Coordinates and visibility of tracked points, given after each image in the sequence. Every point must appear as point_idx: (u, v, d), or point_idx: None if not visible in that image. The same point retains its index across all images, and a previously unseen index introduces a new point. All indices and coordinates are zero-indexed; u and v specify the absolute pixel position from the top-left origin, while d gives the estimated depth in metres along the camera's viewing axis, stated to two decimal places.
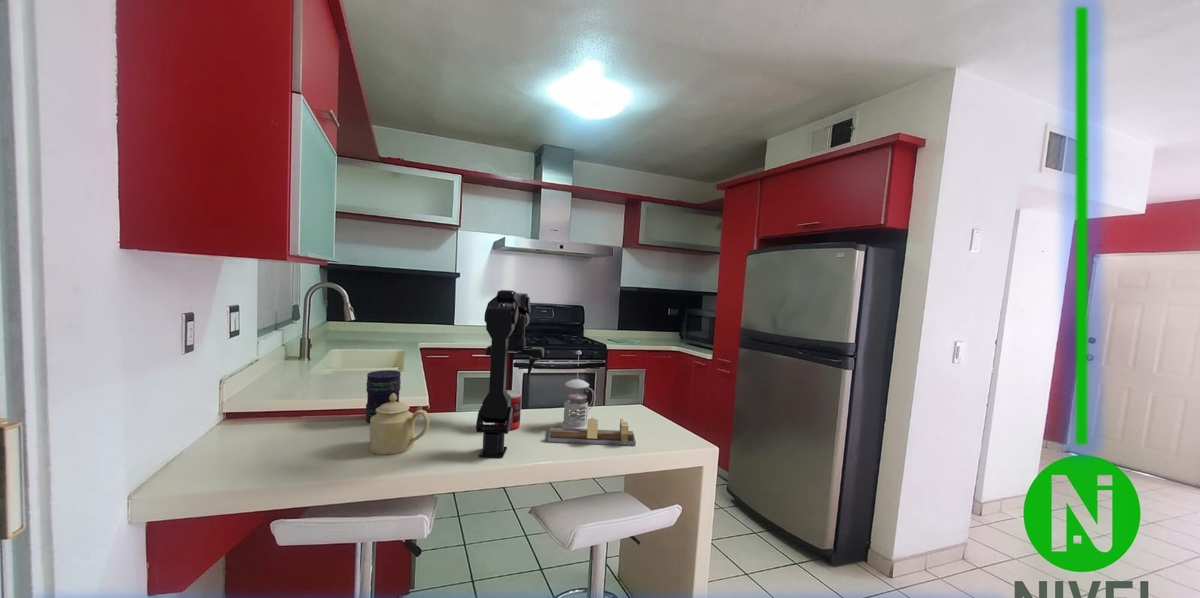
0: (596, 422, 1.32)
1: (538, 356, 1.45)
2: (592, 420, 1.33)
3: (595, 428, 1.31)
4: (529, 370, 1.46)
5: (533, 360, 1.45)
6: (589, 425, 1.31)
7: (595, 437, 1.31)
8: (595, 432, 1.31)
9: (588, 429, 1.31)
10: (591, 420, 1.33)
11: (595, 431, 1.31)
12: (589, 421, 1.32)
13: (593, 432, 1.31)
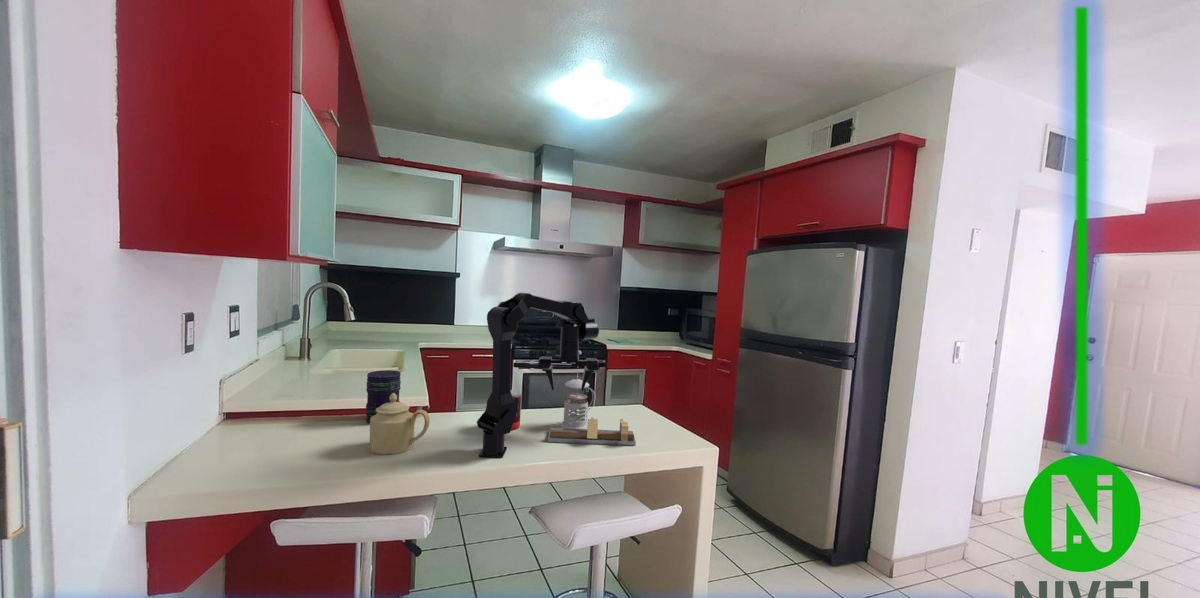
0: (596, 422, 1.32)
1: (594, 368, 1.36)
2: (592, 420, 1.33)
3: (595, 428, 1.31)
4: (584, 383, 1.38)
5: (589, 372, 1.37)
6: (589, 425, 1.31)
7: (595, 437, 1.31)
8: (595, 432, 1.31)
9: (588, 429, 1.31)
10: (591, 420, 1.33)
11: (595, 431, 1.31)
12: (589, 421, 1.32)
13: (593, 432, 1.31)
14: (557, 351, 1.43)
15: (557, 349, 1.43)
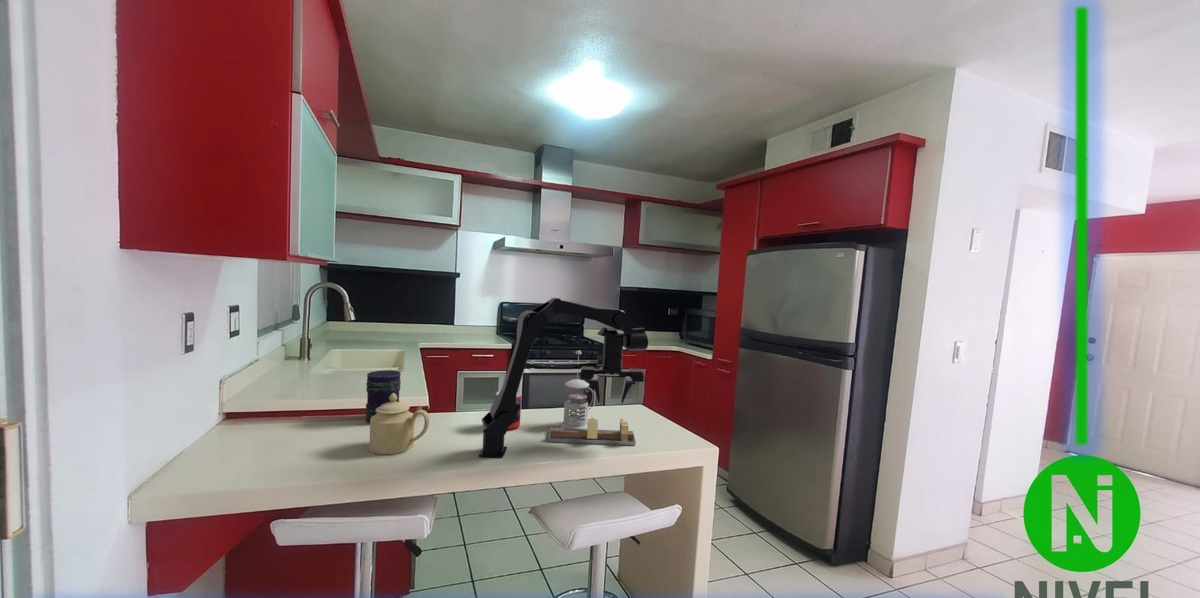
0: (596, 422, 1.32)
1: (639, 380, 1.29)
2: (592, 420, 1.33)
3: (595, 428, 1.31)
4: (624, 395, 1.31)
5: (630, 384, 1.29)
6: (589, 425, 1.31)
7: (595, 437, 1.31)
8: (595, 432, 1.31)
9: (588, 429, 1.31)
10: (591, 420, 1.33)
11: (595, 431, 1.31)
12: (589, 421, 1.32)
13: (593, 432, 1.31)
14: (599, 361, 1.36)
15: (599, 359, 1.37)
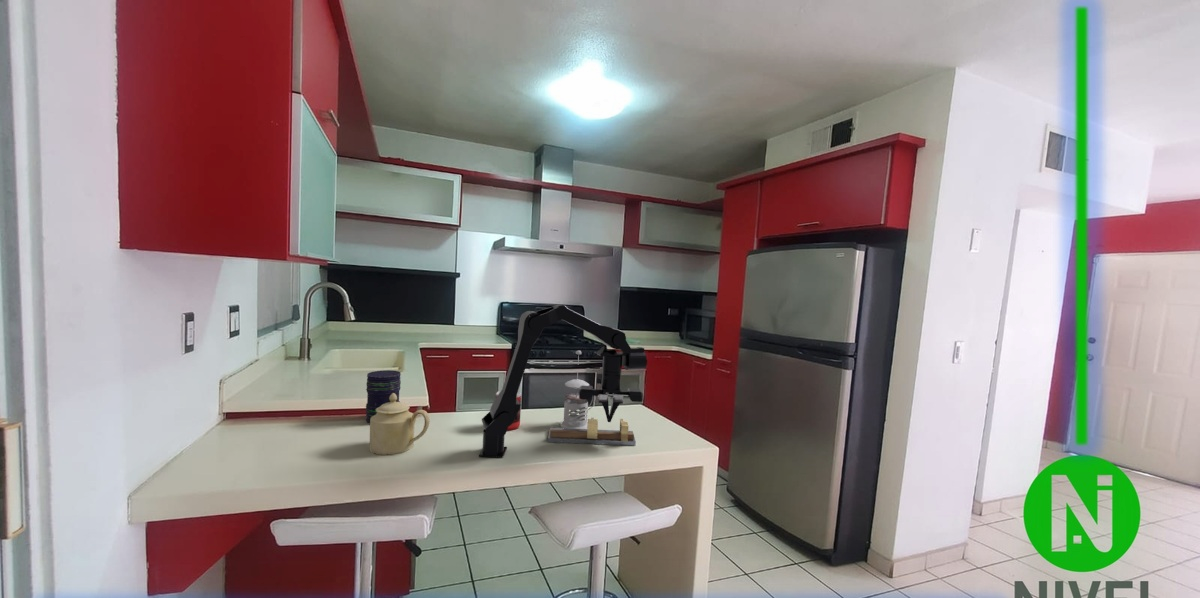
0: (596, 422, 1.32)
1: (638, 400, 1.29)
2: (592, 420, 1.33)
3: (595, 428, 1.31)
4: (612, 414, 1.31)
5: (617, 403, 1.30)
6: (589, 425, 1.31)
7: (595, 437, 1.31)
8: (595, 432, 1.31)
9: (588, 429, 1.31)
10: (591, 420, 1.33)
11: (595, 431, 1.31)
12: (589, 421, 1.32)
13: (593, 432, 1.31)
14: (598, 380, 1.36)
15: (598, 378, 1.37)
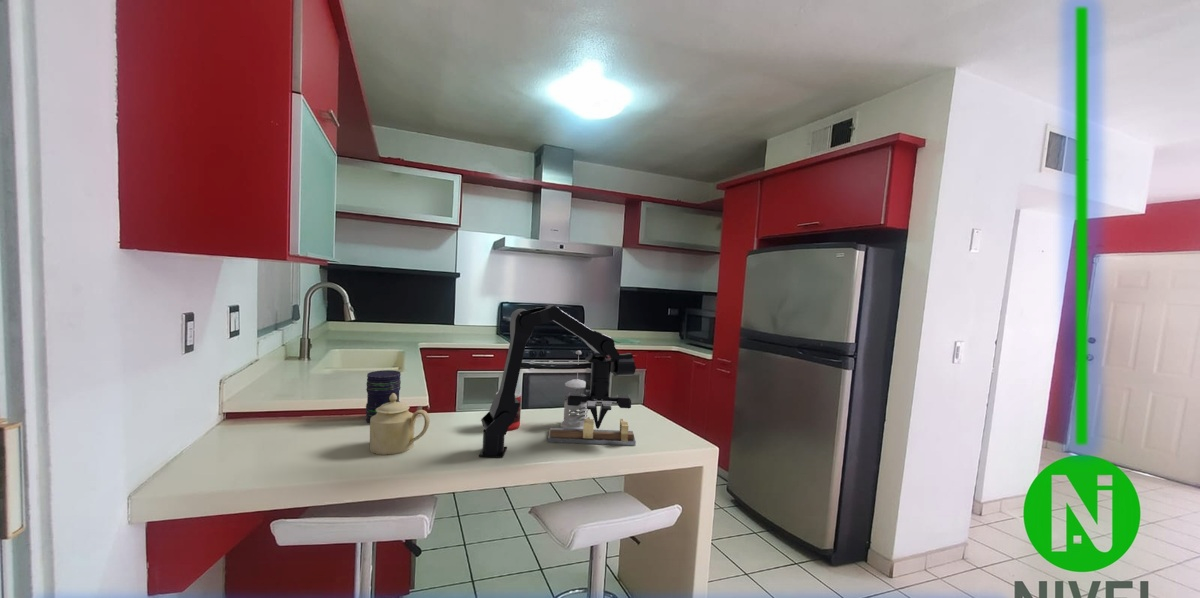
0: (592, 422, 1.32)
1: (626, 406, 1.29)
2: (588, 420, 1.33)
3: (591, 427, 1.31)
4: (600, 420, 1.31)
5: (605, 410, 1.30)
6: (585, 425, 1.31)
7: (591, 437, 1.31)
8: (591, 432, 1.31)
9: (584, 429, 1.31)
10: (587, 420, 1.33)
11: (591, 431, 1.31)
12: (585, 421, 1.32)
13: (589, 432, 1.31)
14: (587, 386, 1.36)
15: (587, 384, 1.37)
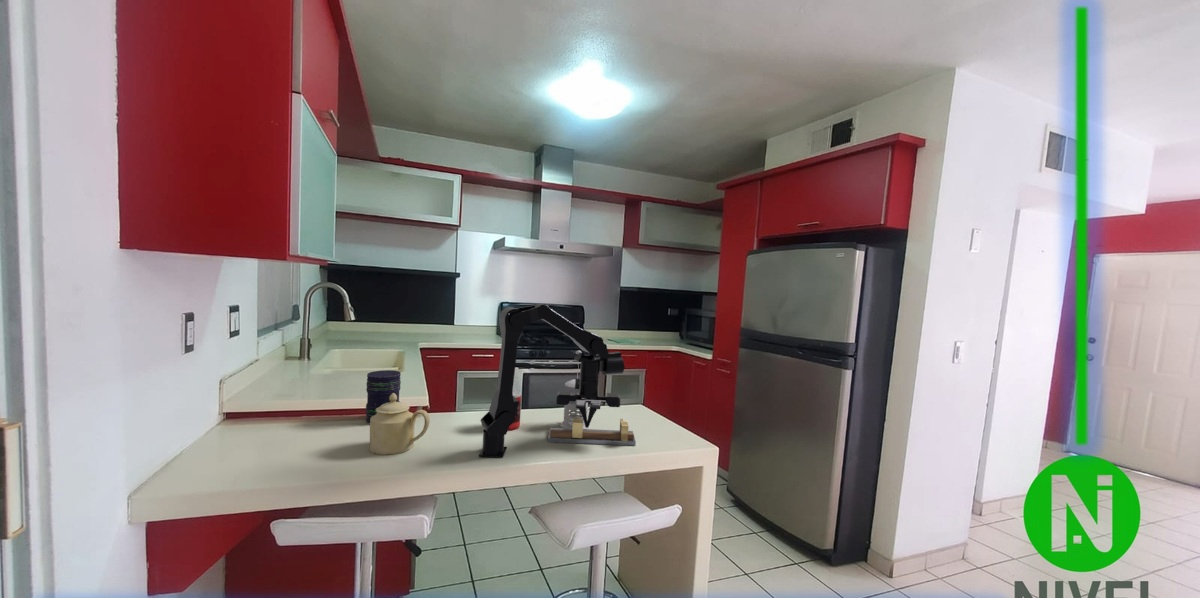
0: (581, 421, 1.32)
1: (615, 405, 1.29)
2: (577, 419, 1.33)
3: (580, 427, 1.31)
4: (589, 419, 1.31)
5: (594, 409, 1.29)
6: (574, 424, 1.30)
7: (580, 436, 1.31)
8: (580, 431, 1.31)
9: (573, 428, 1.30)
10: (576, 419, 1.33)
11: (580, 430, 1.31)
12: (574, 420, 1.32)
13: (578, 431, 1.31)
14: (576, 385, 1.36)
15: (576, 383, 1.37)
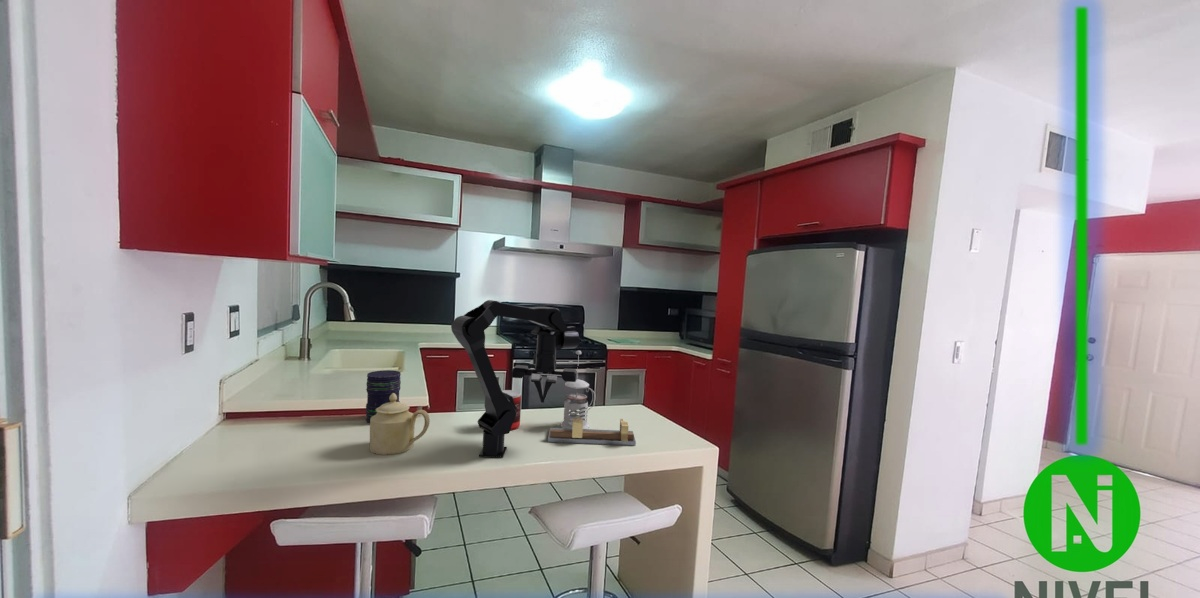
0: (581, 421, 1.32)
1: (571, 380, 1.27)
2: (577, 419, 1.33)
3: (580, 427, 1.31)
4: (545, 394, 1.29)
5: (550, 383, 1.27)
6: (574, 424, 1.30)
7: (580, 436, 1.31)
8: (580, 431, 1.31)
9: (573, 428, 1.30)
10: (576, 419, 1.33)
11: (580, 430, 1.31)
12: (574, 420, 1.32)
13: (578, 431, 1.31)
14: (534, 360, 1.35)
15: (535, 358, 1.35)
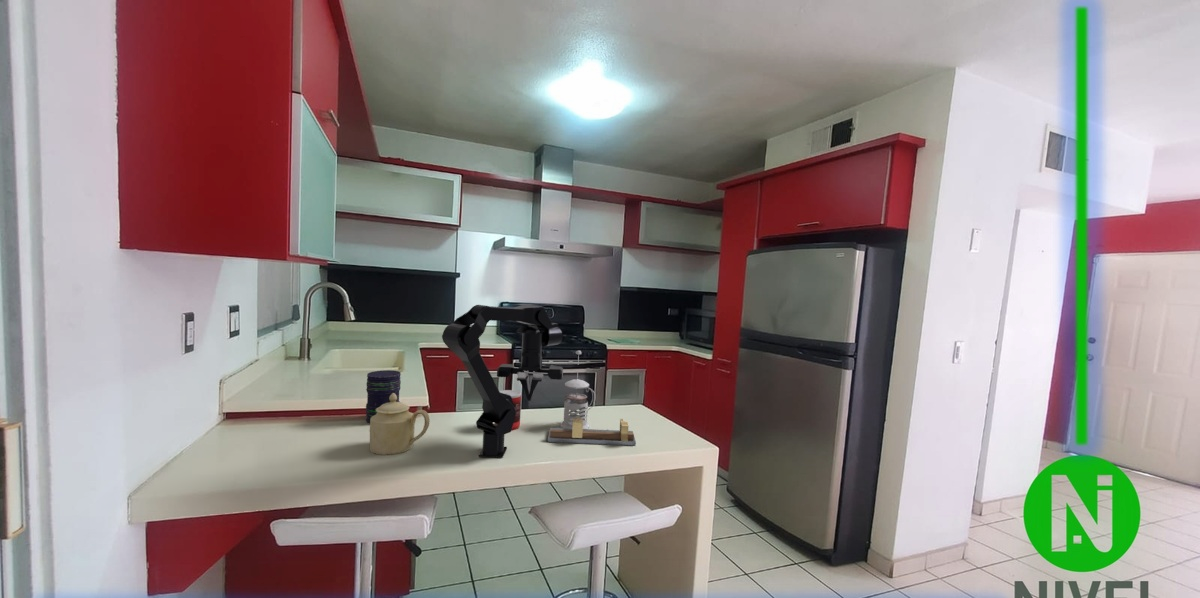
0: (581, 421, 1.32)
1: (557, 377, 1.27)
2: (577, 419, 1.33)
3: (580, 427, 1.31)
4: (531, 392, 1.29)
5: (536, 381, 1.27)
6: (574, 424, 1.30)
7: (580, 436, 1.31)
8: (580, 431, 1.31)
9: (573, 428, 1.30)
10: (576, 419, 1.33)
11: (580, 430, 1.31)
12: (574, 420, 1.32)
13: (578, 431, 1.31)
14: (520, 358, 1.34)
15: (520, 356, 1.34)
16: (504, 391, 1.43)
